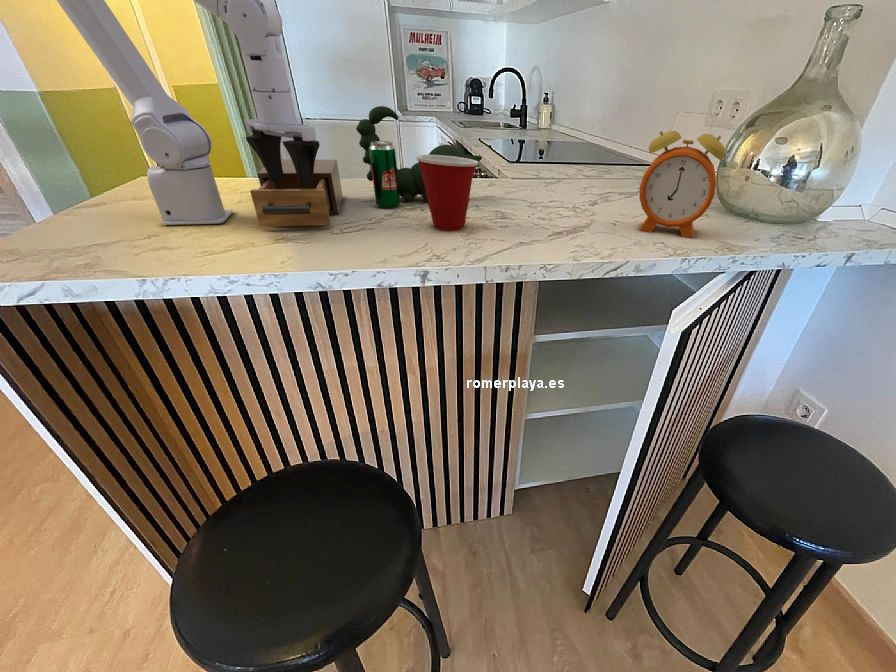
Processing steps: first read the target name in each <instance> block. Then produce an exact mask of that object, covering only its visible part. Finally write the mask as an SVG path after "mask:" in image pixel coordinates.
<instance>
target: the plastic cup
mask: <svg viewBox="0 0 896 672" xmlns="http://www.w3.org/2000/svg"><path fill="white" fill-rule="evenodd" d="M415 157H416V161H418V162H419V164H420V169H421V172H422V176H423V180H424V185H425V189H426V194H427V199H428V200H427V203H428V208H429V211H430V215H431V221H432V224H433V227H434V228H435V229H436V230H438V231H439V230H440V231H446V232H455V231H461V230H463V229H464V228H465V224H466V220H467V213H468V209H469V203H470V196H471V189H472V183H473V178H474V174H475V171H476V169H477V166H478V165H479V162H480V161H479V162H478V161H476V160H472V159H468V158H462V157H454V156H444V155H429V154H417V155H415Z"/></svg>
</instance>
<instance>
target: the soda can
mask: <svg viewBox="0 0 896 672" xmlns="http://www.w3.org/2000/svg"><path fill="white" fill-rule="evenodd" d="M370 144H371V145H370V147H369V154H370V162H371V169H372V177H373V181H372V183H373V192H374V199H375V204H376V206H377V207H379V208H380V209H397V208H399V206H400V205H401V196H400V193H399V183H398V173H397V169H398V163H397V154H396V148H395V146H394V145H393V141H388V140H380V141H372V142H370Z"/></svg>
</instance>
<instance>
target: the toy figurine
mask: <svg viewBox="0 0 896 672" xmlns="http://www.w3.org/2000/svg"><path fill="white" fill-rule="evenodd" d="M385 118H392V119H394V120H396V121H398V120H399V116H398V114H397V112H396V111H395V110H393V109H392V108H391V107H388V106H384V105H379V106H375V107H373V108H372V109H371V110H370V111H369V112H368V119H367V118H363V119H361V120H360V121H359V122H358V123H357V126H356V128H355V130H356V132H357V133H358V134H359V136H360V140H359V141H358V143H359V146H360V148H363V150H364V156H363V157H362V162H363V163H364V164H365V165H367V164H368V166H369V170H368V172H367V174H366V178H367V180H368V181H369V182H373V177H372V169H371V162H370V154H369V147H370V145H371V144H370V142H372V141H381V138H380V137H379V135H378V134H377V131H376V126H375V125H377V124H380V123H381V122H382V120H384V119H385ZM428 155H444V156H454V157H462V158H468V159H472V160H476V161H478V162H480V161H482V159H483V156H482V155H473V154H465V153H464V152H463V151H462V150H461V149H460V148H458V147H456V146H455V145H452V144H441V145H438V146H436V147H435V148H433V149H432V150H430V151H429V153H428ZM397 173H398V183H399V193H400V198H402V200H403V201H404V202H405V203H411V202H412V200H413V198H415V197H417V196H418V195H420V196H421V198H422V199H423V200H424V201H428V199H427V194H426V189H425V185H424V180H423V176H422V172H421V169H420V164H419V161H418V162H416V163H414V164H413V165H412V166H411V167H401V168H397Z"/></svg>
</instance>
